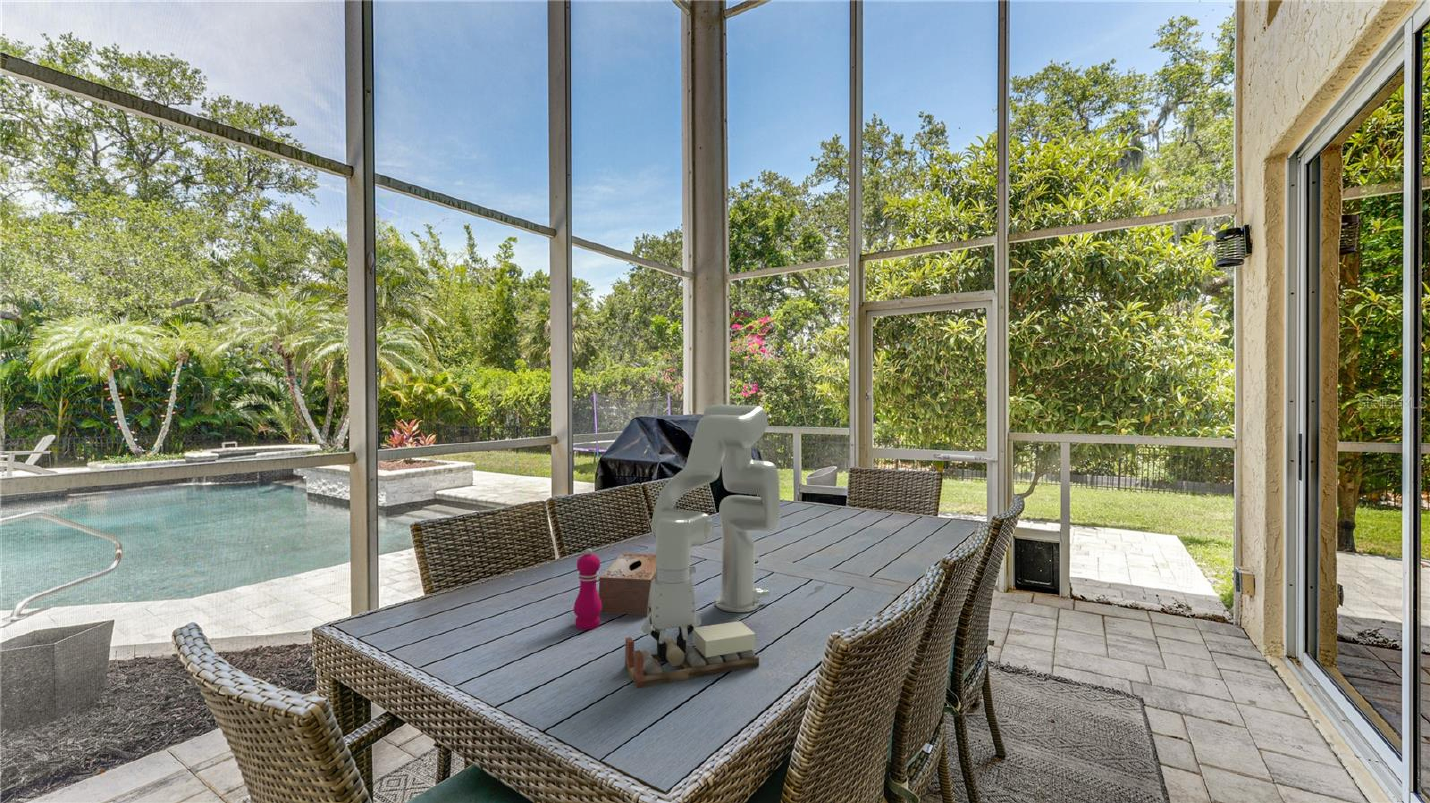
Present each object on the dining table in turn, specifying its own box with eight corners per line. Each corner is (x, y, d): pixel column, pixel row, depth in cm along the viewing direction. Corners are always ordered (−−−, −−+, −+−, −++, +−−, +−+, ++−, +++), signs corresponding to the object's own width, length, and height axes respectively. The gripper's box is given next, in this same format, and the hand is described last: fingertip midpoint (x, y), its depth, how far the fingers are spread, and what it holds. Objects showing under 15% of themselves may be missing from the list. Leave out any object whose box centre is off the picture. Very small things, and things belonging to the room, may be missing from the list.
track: (739, 648, 143) (740, 621, 143) (758, 666, 134) (759, 637, 134) (625, 667, 132) (625, 637, 132) (637, 687, 123) (637, 656, 123)
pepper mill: (595, 631, 151) (596, 552, 151) (568, 628, 153) (569, 550, 153) (606, 621, 158) (607, 545, 158) (580, 618, 160) (581, 544, 160)
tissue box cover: (621, 584, 190) (622, 552, 190) (666, 586, 189) (666, 554, 189) (598, 613, 165) (599, 577, 165) (650, 616, 164) (650, 579, 163)
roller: (658, 653, 133) (659, 638, 133) (673, 651, 135) (673, 636, 135) (668, 667, 127) (669, 650, 127) (684, 664, 128) (684, 648, 128)
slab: (739, 635, 142) (740, 621, 142) (755, 649, 134) (755, 633, 134) (692, 643, 137) (692, 627, 137) (705, 657, 130) (706, 641, 130)
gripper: (701, 565, 137) (700, 645, 138) (631, 572, 131) (629, 656, 131) (714, 575, 130) (712, 658, 131) (640, 583, 124) (639, 671, 124)
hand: (671, 656), depth 131 cm, fingers closed on roller, 3 cm apart
